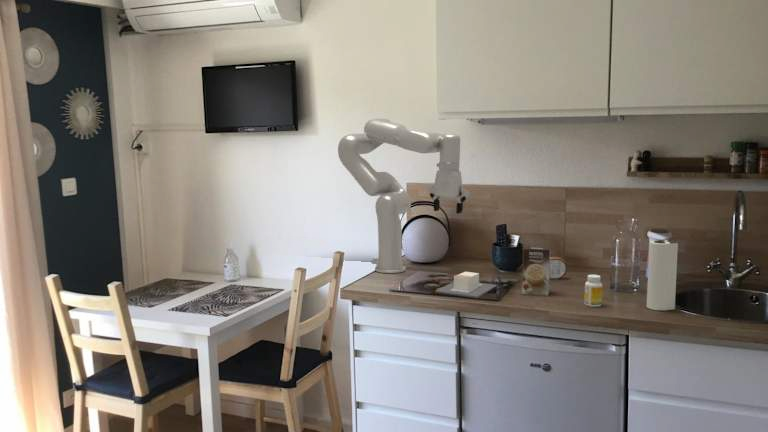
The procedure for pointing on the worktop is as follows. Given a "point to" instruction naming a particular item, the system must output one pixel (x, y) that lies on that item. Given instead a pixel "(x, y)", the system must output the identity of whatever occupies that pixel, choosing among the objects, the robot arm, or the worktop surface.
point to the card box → (466, 281)
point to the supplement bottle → (593, 291)
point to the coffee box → (536, 270)
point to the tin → (557, 268)
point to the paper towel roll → (662, 275)
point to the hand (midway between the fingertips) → (447, 211)
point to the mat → (472, 293)
